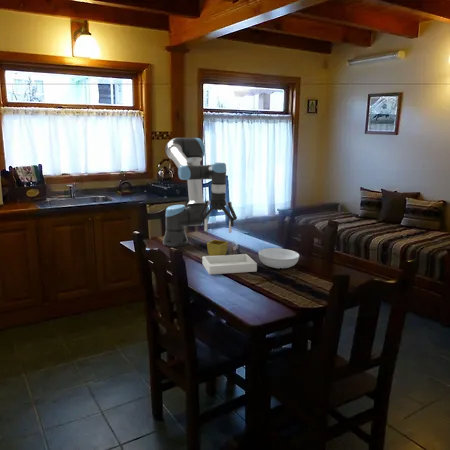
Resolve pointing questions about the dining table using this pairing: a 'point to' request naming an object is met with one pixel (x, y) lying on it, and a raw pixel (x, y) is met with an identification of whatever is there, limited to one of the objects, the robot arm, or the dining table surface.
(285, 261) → the serving bowl
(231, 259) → the tray
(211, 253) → the flower pot
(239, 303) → the dining table surface
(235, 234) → the dining table surface
